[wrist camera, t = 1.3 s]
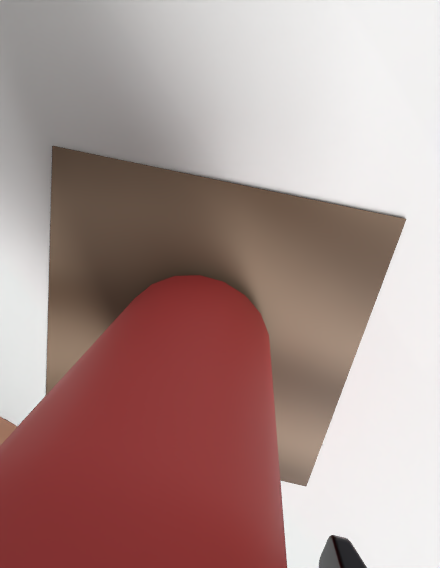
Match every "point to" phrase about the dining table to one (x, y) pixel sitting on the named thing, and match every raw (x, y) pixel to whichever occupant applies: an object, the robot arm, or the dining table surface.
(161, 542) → the beer can
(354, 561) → the robot arm
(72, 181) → the board
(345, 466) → the dining table surface
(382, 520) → the dining table surface
